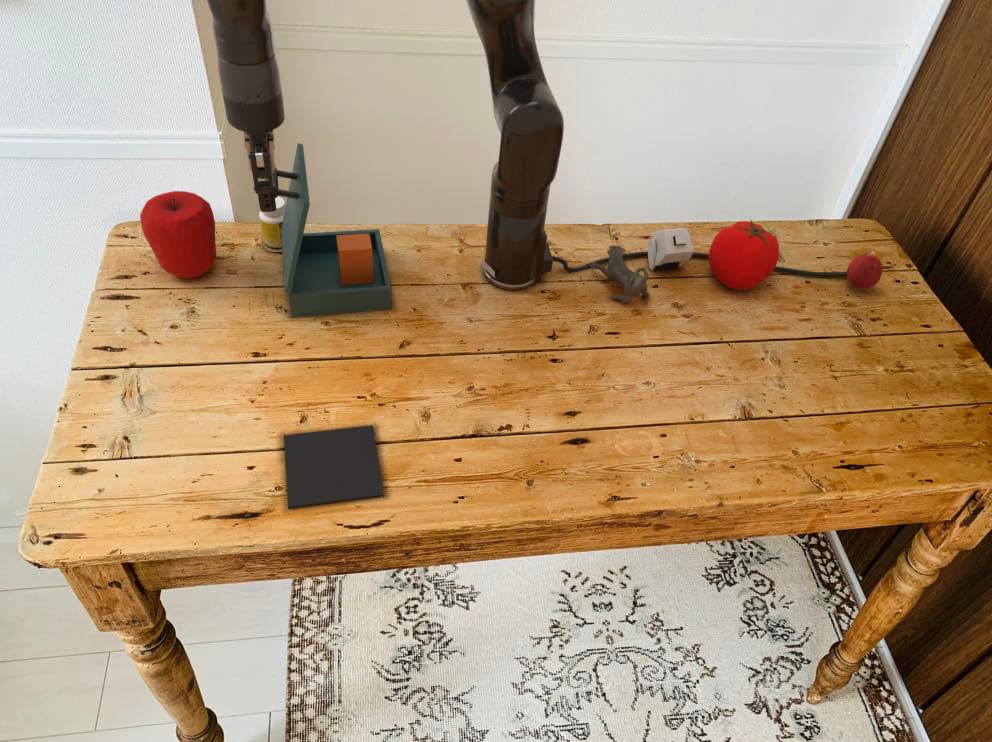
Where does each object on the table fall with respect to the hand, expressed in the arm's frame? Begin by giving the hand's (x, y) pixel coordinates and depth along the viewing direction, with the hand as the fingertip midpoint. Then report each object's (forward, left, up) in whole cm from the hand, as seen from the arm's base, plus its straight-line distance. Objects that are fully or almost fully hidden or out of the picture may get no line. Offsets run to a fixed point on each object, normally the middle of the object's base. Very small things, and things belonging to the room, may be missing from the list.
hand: (267, 193), depth 118 cm
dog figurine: (-56, +7, -18) cm, 59 cm away
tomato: (-78, +7, -18) cm, 80 cm away
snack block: (-12, 0, -16) cm, 20 cm away
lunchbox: (-9, 0, -17) cm, 19 cm away
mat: (-5, +38, -17) cm, 42 cm away
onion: (-100, +12, -18) cm, 102 cm away
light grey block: (-66, +2, -18) cm, 68 cm away
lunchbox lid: (-4, 0, -5) cm, 6 cm away
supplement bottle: (0, -11, -18) cm, 21 cm away
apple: (+14, -6, -18) cm, 23 cm away
